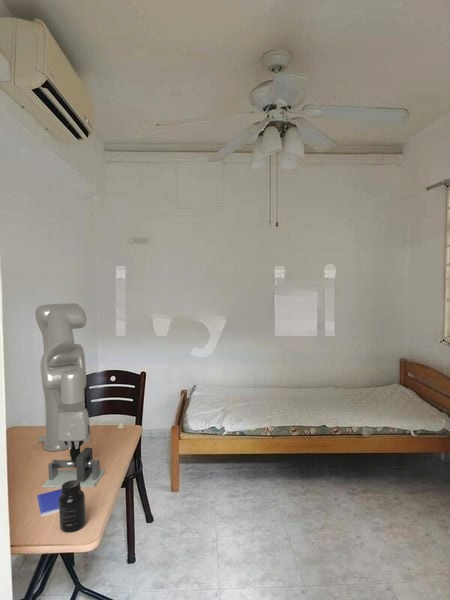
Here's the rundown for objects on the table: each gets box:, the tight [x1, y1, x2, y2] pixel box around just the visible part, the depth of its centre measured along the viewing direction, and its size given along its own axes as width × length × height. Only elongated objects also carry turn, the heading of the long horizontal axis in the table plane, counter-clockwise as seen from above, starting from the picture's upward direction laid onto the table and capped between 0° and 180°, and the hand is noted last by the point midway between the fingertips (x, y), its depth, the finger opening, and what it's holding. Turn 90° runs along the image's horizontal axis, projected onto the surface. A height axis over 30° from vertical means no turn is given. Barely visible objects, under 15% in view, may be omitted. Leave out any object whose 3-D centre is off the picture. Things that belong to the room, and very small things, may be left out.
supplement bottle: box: [58, 480, 87, 533], centre depth 113 cm, size 7×7×12 cm
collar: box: [75, 447, 94, 481], centre depth 140 cm, size 2×8×8 cm, turn 177°
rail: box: [47, 458, 101, 480], centre depth 140 cm, size 16×4×6 cm, turn 87°
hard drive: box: [36, 488, 62, 518], centre depth 126 cm, size 2×8×12 cm
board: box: [41, 469, 106, 489], centre depth 141 cm, size 18×11×1 cm, turn 87°
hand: (75, 458), depth 140 cm, fingers closed
